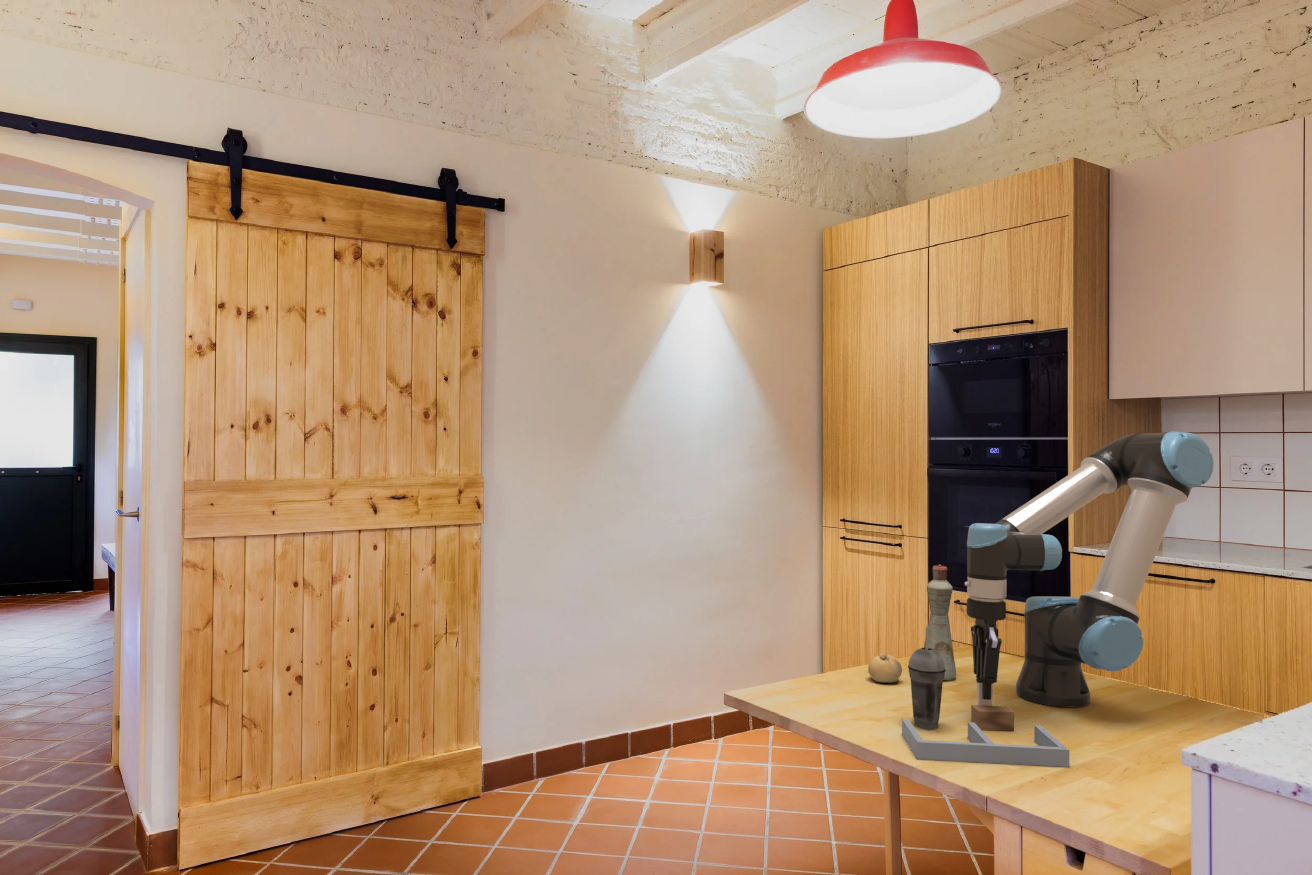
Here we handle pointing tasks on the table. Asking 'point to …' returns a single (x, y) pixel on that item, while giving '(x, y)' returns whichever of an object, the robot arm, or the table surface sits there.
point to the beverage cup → (926, 686)
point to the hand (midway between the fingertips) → (984, 713)
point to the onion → (884, 668)
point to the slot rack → (989, 748)
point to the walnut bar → (993, 718)
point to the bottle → (940, 619)
